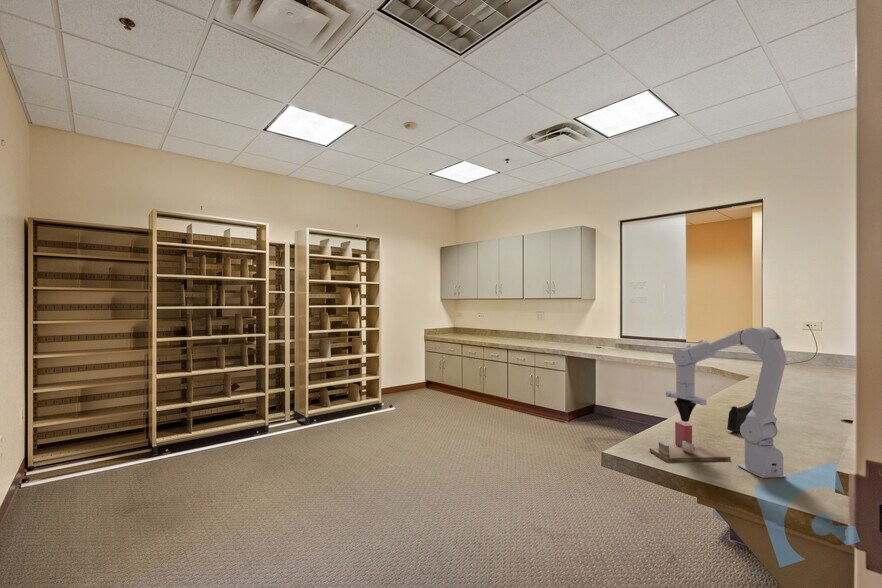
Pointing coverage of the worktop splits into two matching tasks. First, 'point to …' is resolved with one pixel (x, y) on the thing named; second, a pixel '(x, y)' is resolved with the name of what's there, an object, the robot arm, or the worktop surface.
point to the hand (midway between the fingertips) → (685, 421)
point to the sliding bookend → (688, 447)
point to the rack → (688, 454)
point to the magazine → (738, 416)
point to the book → (683, 433)
